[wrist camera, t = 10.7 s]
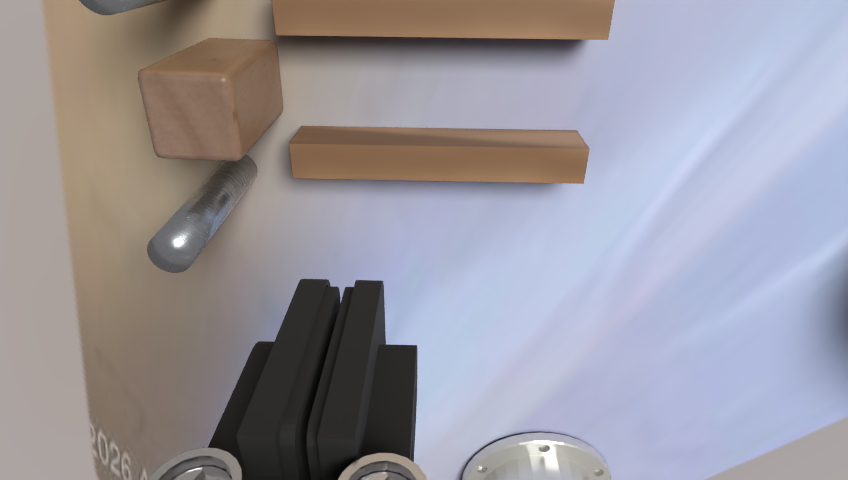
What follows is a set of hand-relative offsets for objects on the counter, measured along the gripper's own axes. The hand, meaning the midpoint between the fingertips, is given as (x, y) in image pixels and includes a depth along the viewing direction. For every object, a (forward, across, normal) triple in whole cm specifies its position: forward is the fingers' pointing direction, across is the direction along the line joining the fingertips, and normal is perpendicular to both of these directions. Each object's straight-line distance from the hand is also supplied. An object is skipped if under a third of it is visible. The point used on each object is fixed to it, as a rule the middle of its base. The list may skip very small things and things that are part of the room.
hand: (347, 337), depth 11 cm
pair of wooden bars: (+22, -2, 0) cm, 22 cm away
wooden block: (+22, +9, 0) cm, 24 cm away
